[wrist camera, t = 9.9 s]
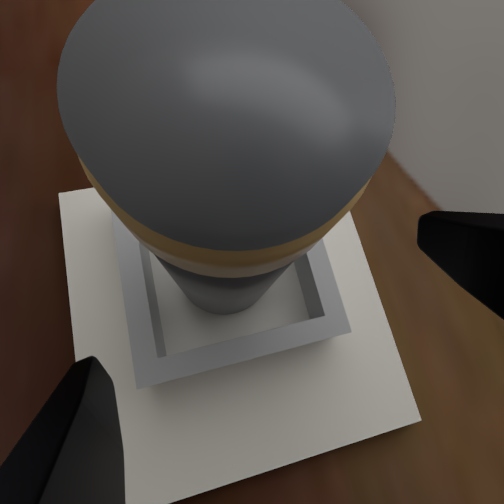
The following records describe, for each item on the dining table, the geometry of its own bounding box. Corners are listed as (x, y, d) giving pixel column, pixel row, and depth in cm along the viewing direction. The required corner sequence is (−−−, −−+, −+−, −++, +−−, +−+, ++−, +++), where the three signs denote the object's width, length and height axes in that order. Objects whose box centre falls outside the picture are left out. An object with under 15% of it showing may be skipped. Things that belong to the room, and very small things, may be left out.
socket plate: (410, 415, 17) (457, 434, 14) (101, 516, 14) (66, 568, 11) (323, 158, 21) (343, 123, 18) (66, 201, 18) (33, 169, 15)
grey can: (261, 326, 17) (385, 284, 4) (163, 304, 16) (-18, 188, 4) (279, 234, 18) (413, -2, 6) (190, 213, 18) (119, -81, 5)
